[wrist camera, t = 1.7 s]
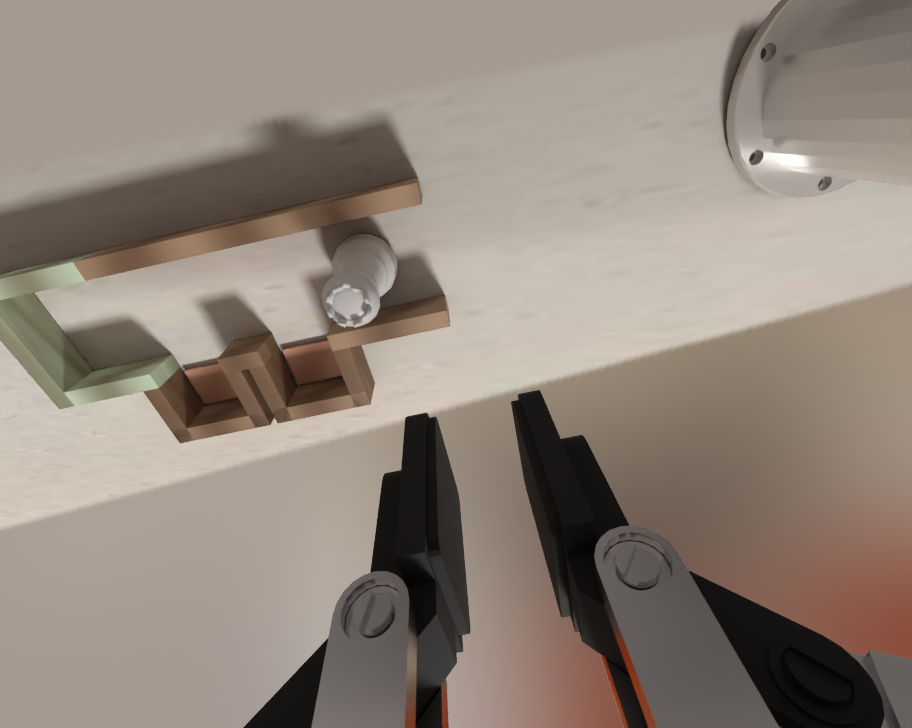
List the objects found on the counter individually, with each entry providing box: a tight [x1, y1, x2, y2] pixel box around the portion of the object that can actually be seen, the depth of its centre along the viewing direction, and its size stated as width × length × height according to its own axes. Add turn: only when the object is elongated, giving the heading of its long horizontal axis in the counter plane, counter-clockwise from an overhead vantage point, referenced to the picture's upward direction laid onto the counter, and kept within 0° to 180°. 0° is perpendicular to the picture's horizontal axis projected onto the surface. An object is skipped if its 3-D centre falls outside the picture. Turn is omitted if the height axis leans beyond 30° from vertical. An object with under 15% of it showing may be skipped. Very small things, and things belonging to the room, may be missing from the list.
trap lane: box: [0, 177, 450, 443], centre depth 30 cm, size 29×14×3 cm, turn 101°
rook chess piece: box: [321, 234, 398, 328], centre depth 26 cm, size 4×4×8 cm
